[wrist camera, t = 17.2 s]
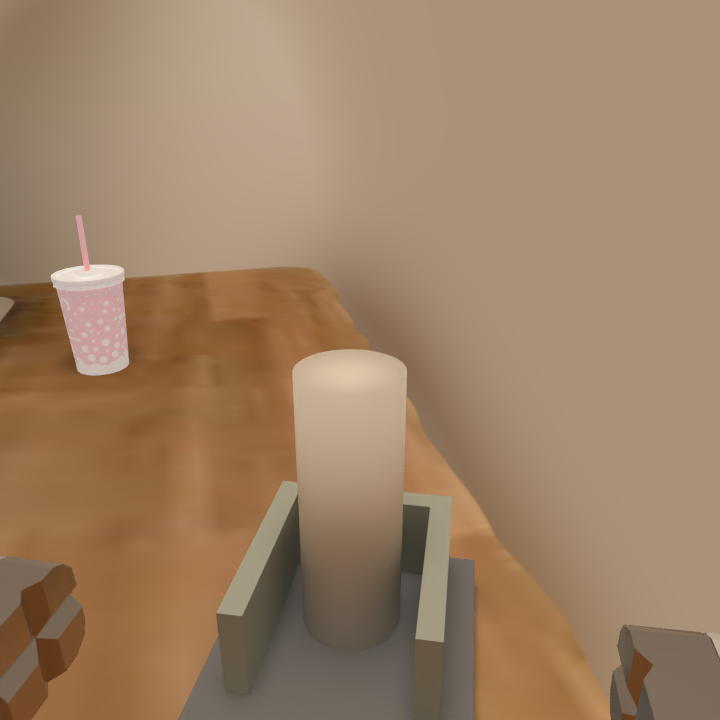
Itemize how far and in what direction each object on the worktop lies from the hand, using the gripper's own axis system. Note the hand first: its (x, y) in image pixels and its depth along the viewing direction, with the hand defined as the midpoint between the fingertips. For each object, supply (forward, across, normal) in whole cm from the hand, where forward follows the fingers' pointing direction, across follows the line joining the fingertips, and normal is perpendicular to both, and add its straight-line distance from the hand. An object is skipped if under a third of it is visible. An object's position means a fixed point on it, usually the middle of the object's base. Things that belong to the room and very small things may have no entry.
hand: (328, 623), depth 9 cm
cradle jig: (+13, +3, +16) cm, 21 cm away
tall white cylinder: (+15, +3, +15) cm, 21 cm away
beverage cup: (+43, +32, +16) cm, 56 cm away
